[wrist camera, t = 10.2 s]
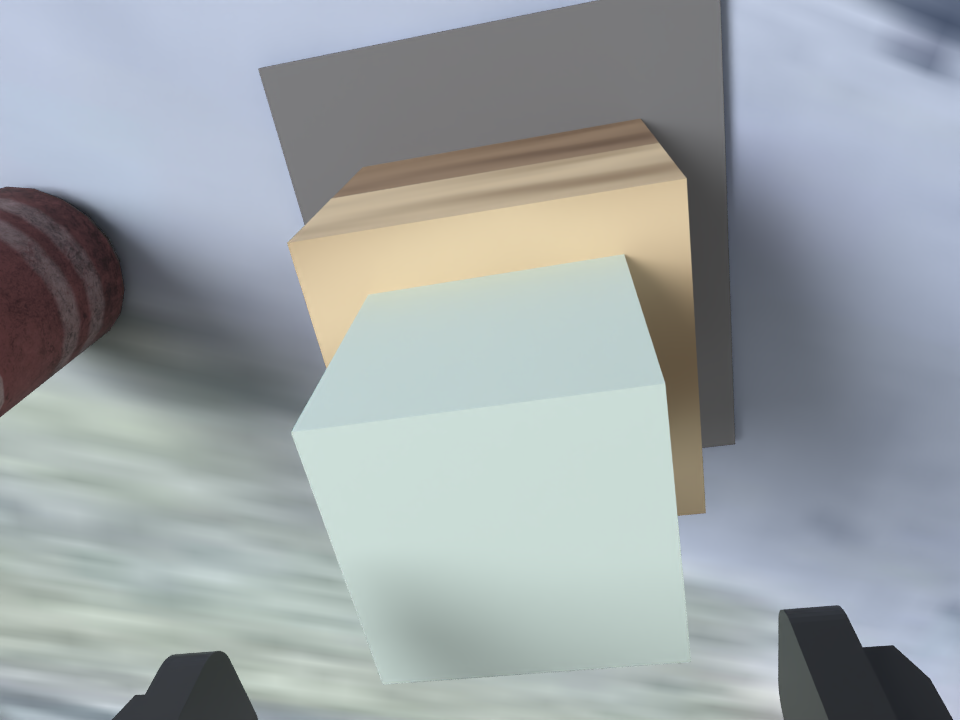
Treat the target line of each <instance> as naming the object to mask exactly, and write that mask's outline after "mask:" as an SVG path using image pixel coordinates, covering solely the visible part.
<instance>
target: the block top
mask: <svg viewBox="0 0 960 720" xmlns="http://www.w3.org/2000/svg"><path fill="white" fill-rule="evenodd" d="M287 244H288V247H289V250H290V253H291V257H292V260H293V263H294V266H295V269H296V273H297V276H298V279H299V282H300V285H301V289H302V292H303V295H304V298H305V301H306V305H307V308H308V311H309V314H310V317H311V321H312V324H313V327H314V330H315V333H316V337H317V340H318V343H319V346H320V350H321V353H322V356H323V359H324V362H325V366H326V369H327V367H328V365H329V364H330V362H331V360H332V358H333V357H334V355H335V353H336V351H337V349H338V348H339V346H340V344H341V342H342V340H343V339H344V337H345V335H346V333H347V332H348V330H349V328H350V326H351V324H352V323H353V321H354V319H355V317H356V316H357V314H358V312H359V310H360V308H361V307H362V305H363V303H364V301H365V299H366V298H367V296H368V295H369V294H376V293H382V292H388V291H394V290H401V289H407V288H413V287H420V286H426V285H432V284H439V283H445V282H451V281H458V280H464V279H470V278H477V277H483V276H489V275H495V274H502V273H508V272H514V271H521V270H527V269H533V268H540V267H546V266H552V265H559V264H565V263H571V262H577V261H584V260H590V259H596V258H603V257H609V256H615V255H622V254H624V255H625V258H626V262H627V265H628V268H629V271H630V274H631V277H632V280H633V284H634V287H635V290H636V293H637V296H638V299H639V303H640V306H641V309H642V312H643V315H644V318H645V321H646V325H647V328H648V331H649V334H650V337H651V340H652V343H653V347H654V350H655V353H656V356H657V359H658V362H659V365H660V369H661V372H662V375H663V378H664V381H665V386H666V397H667V408H668V419H669V429H670V440H671V451H672V462H673V473H674V484H675V494H676V505H677V516H680V515H691V514H701V513H706V510H705V492H704V475H703V457H702V439H701V422H700V404H699V387H698V369H697V352H696V334H695V317H694V299H693V282H692V264H691V247H690V229H689V212H688V194H687V178H686V177H685V176H684V174H683V173H682V172H681V171H680V169H679V168H678V167H677V165H676V164H675V163H674V161H673V160H672V159H671V158H670V156H669V155H668V154H667V152H666V151H665V150H664V149H663V147H662V146H661V145H660V143H655V144H649V145H643V146H638V147H632V148H626V149H620V150H614V151H608V152H602V153H596V154H590V155H585V156H579V157H573V158H567V159H561V160H555V161H549V162H543V163H537V164H532V165H526V166H520V167H514V168H508V169H502V170H496V171H490V172H484V173H479V174H473V175H467V176H461V177H455V178H449V179H443V180H437V181H431V182H426V183H420V184H414V185H408V186H402V187H396V188H390V189H384V190H378V191H373V192H367V193H361V194H355V195H349V196H343V197H337V198H331V199H330V201H329V202H328V203H327V204H326V205H325V206H324V207H323V208H322V209H321V210H320V211H319V212H318V213H317V214H316V215H315V216H314V217H313V218H312V219H311V220H310V221H309V222H308V223H307V224H306V225H305V226H304V227H303V228H302V229H301V230H300V231H299V232H298V233H297V234H296V235H295V236H294V237H293V238H292V239H291V240H290V241H289V242H288V243H287Z"/></svg>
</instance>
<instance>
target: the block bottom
mask: <svg viewBox="0 0 960 720" xmlns="http://www.w3.org/2000/svg"><path fill="white" fill-rule="evenodd" d="M655 143H659V142H658V141H657V139H656V138H655V137H654V135H653V134H652V133H651V132H650V130H649V129H648V128H647V126H646V125H645V124H644V123H643V121H642V120H641V119H635V120H629V121H623V122H618V123H612V124H606V125H601V126H595V127H589V128H583V129H578V130H572V131H566V132H561V133H555V134H549V135H544V136H538V137H532V138H526V139H521V140H515V141H509V142H504V143H498V144H492V145H486V146H481V147H475V148H469V149H464V150H458V151H452V152H447V153H441V154H435V155H429V156H424V157H418V158H412V159H407V160H401V161H395V162H389V163H384V164H378V165H372V166H367V167H362V168H361V169H360V170H359V171H358V172H357V173H356V174H355V175H354V176H353V177H352V179H351V180H350V181H349V182H348V183H347V184H346V185H345V186H344V187H343V188H342V189H341V190H340V191H339V192H338V193H337V194H336V195H335V196H334V197H333V198H337V197H343V196H349V195H355V194H361V193H367V192H373V191H378V190H384V189H390V188H396V187H402V186H408V185H414V184H420V183H426V182H431V181H437V180H443V179H449V178H455V177H461V176H467V175H473V174H479V173H484V172H490V171H496V170H502V169H508V168H514V167H520V166H526V165H532V164H537V163H543V162H549V161H555V160H561V159H567V158H573V157H579V156H585V155H590V154H596V153H602V152H608V151H614V150H620V149H626V148H632V147H638V146H643V145H649V144H655Z"/></svg>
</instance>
